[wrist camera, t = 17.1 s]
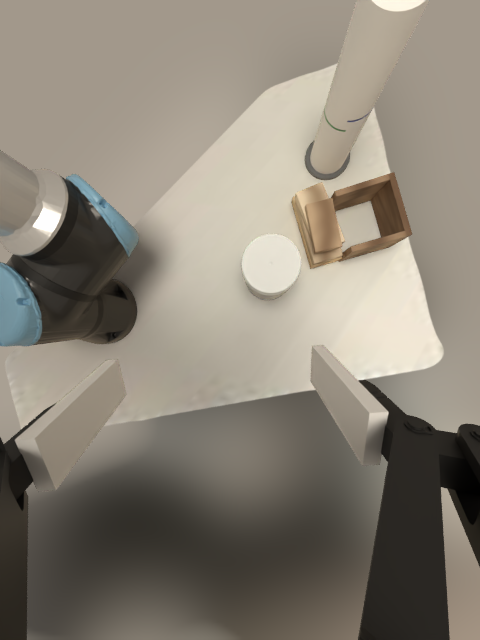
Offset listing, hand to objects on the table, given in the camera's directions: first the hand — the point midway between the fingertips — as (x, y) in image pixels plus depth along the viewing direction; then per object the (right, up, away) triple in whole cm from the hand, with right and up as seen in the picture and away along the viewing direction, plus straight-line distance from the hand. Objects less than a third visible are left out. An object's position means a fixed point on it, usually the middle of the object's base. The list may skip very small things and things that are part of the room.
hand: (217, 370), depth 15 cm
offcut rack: (+23, +24, +32) cm, 46 cm away
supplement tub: (+8, +12, +34) cm, 37 cm away
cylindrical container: (+20, +38, +32) cm, 53 cm away
